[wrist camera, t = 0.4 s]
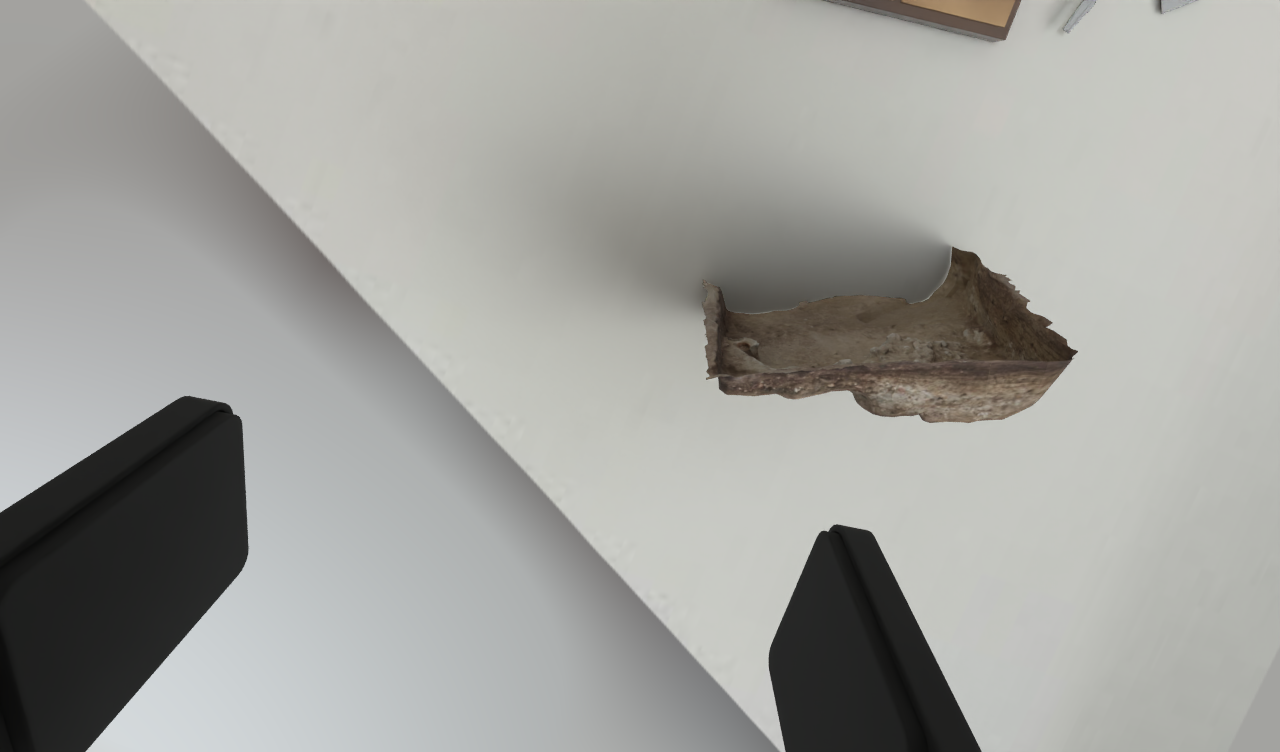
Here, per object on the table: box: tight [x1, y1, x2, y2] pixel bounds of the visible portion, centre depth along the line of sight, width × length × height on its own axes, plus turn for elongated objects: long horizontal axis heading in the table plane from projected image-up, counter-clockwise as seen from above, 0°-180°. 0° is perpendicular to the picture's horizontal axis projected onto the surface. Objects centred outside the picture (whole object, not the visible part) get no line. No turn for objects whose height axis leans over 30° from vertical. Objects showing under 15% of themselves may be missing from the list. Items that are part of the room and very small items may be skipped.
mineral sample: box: [702, 247, 1078, 423], centre depth 33 cm, size 17×4×15 cm, turn 96°
